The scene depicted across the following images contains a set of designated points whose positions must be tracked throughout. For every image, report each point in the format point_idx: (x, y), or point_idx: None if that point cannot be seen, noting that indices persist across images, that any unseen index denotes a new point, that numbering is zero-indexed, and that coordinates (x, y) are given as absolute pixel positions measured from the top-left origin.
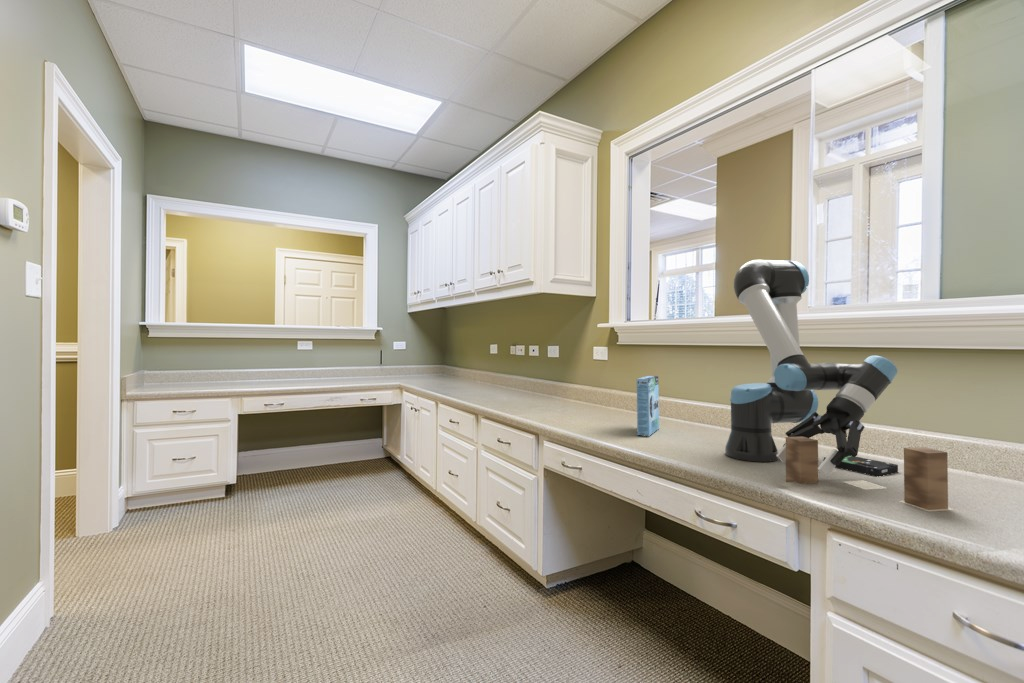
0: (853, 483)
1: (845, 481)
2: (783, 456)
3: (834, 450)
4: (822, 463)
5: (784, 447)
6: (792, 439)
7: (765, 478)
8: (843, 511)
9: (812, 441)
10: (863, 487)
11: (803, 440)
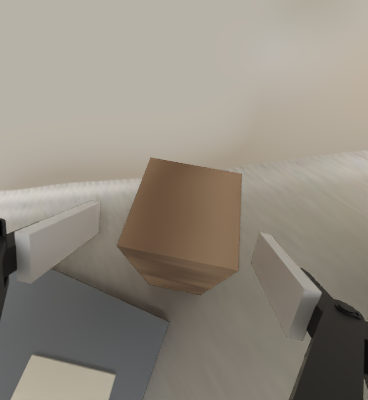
0: (81, 396)
1: (109, 393)
2: (259, 253)
3: (25, 230)
4: (84, 208)
5: (277, 251)
6: (197, 167)
7: (246, 229)
8: (45, 188)
9: (130, 214)
10: (41, 377)
11: (154, 179)
